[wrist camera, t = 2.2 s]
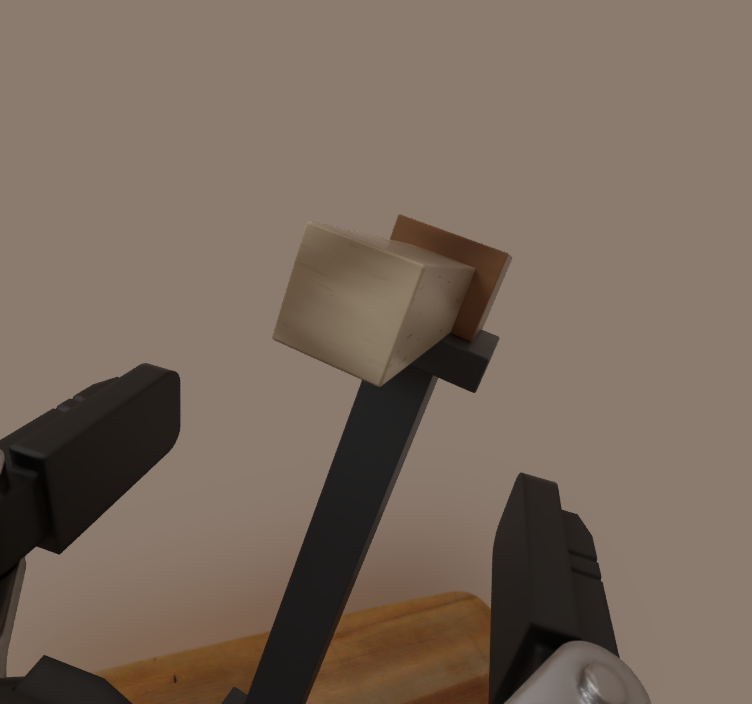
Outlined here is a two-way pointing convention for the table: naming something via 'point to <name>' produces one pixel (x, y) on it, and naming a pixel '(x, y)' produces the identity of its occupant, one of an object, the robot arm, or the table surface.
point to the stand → (353, 515)
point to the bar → (385, 295)
